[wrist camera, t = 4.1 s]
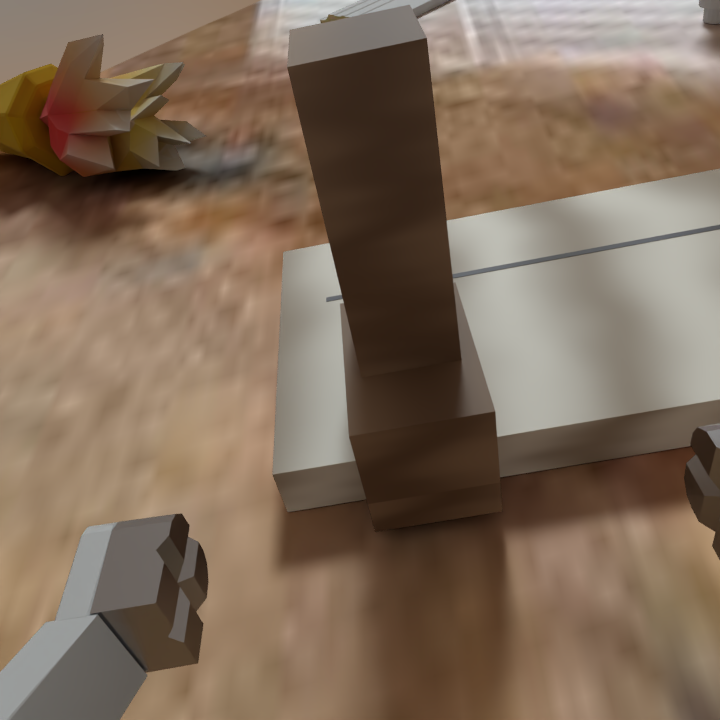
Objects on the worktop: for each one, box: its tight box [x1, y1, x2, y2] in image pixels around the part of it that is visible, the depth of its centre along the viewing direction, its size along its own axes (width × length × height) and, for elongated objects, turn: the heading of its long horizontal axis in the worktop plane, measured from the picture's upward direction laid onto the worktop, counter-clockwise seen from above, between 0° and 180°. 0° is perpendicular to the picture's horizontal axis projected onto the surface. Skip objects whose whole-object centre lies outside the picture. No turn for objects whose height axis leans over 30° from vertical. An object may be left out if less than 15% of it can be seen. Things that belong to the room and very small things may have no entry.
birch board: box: [273, 169, 720, 512], centre depth 27 cm, size 24×14×2 cm, turn 93°
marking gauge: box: [287, 5, 502, 532], centre depth 21 cm, size 4×12×13 cm, turn 3°
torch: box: [0, 34, 206, 177], centre depth 51 cm, size 8×8×25 cm
